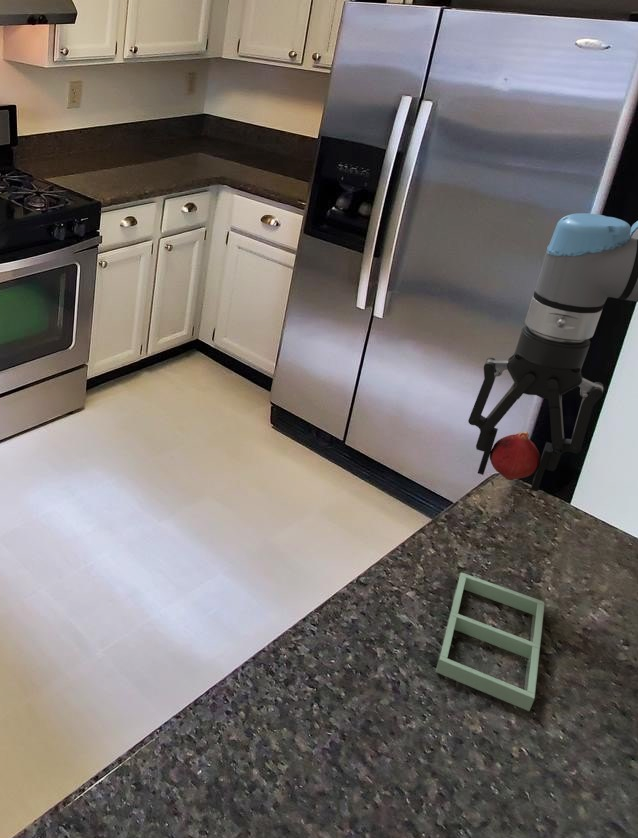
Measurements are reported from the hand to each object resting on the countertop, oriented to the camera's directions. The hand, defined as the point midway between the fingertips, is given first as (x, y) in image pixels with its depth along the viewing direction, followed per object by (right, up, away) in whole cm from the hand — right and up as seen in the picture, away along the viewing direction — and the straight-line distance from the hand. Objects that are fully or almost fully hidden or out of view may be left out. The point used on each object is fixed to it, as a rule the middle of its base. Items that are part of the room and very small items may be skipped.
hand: (508, 477), depth 114 cm
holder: (-9, -21, -9) cm, 24 cm away
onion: (0, 0, 0) cm, 0 cm away
